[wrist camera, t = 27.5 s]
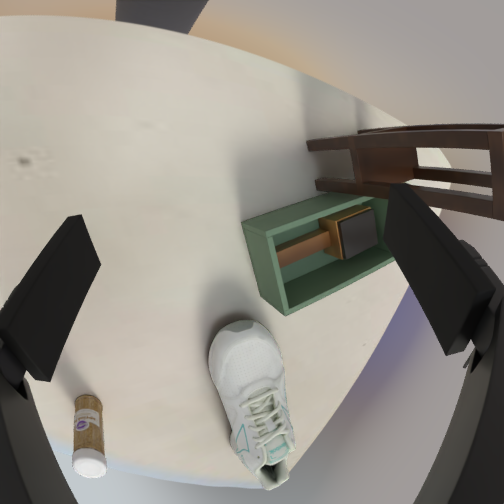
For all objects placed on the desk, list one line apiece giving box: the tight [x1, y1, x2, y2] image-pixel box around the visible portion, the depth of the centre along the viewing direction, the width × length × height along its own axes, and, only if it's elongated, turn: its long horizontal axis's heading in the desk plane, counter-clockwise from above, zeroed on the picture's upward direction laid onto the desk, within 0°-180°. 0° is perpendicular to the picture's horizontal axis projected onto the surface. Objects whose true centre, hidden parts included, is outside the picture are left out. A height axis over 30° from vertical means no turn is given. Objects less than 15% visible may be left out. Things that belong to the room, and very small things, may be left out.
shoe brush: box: [275, 204, 378, 268], centre depth 46 cm, size 6×17×5 cm, turn 106°
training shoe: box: [208, 320, 296, 490], centre depth 46 cm, size 12×33×13 cm, turn 10°
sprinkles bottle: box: [72, 395, 107, 478], centre depth 34 cm, size 5×5×13 cm
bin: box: [241, 192, 395, 316], centre depth 46 cm, size 12×22×8 cm, turn 105°
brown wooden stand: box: [306, 123, 504, 221], centre depth 34 cm, size 8×12×30 cm, turn 105°
